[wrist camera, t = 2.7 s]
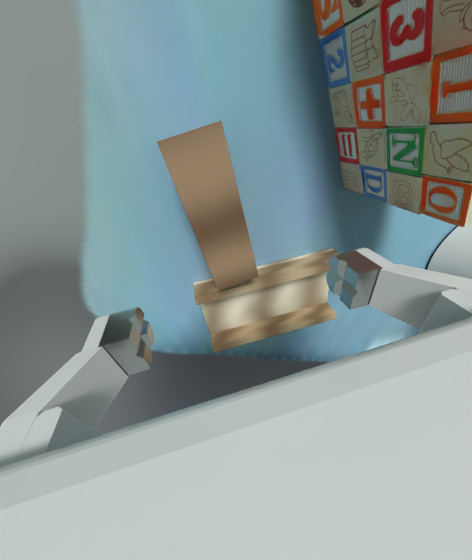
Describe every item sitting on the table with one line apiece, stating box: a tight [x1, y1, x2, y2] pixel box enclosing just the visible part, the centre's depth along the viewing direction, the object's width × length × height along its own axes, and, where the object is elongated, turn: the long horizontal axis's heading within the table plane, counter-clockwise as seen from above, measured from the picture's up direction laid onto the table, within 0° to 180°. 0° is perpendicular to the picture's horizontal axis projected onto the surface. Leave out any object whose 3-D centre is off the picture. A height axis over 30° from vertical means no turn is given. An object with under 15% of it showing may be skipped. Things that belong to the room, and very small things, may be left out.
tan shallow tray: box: [193, 248, 339, 353], centre depth 28 cm, size 18×10×3 cm, turn 99°
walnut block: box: [157, 121, 259, 291], centre depth 18 cm, size 12×4×6 cm, turn 15°
